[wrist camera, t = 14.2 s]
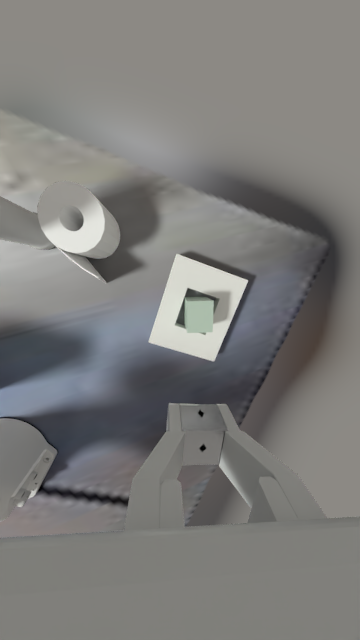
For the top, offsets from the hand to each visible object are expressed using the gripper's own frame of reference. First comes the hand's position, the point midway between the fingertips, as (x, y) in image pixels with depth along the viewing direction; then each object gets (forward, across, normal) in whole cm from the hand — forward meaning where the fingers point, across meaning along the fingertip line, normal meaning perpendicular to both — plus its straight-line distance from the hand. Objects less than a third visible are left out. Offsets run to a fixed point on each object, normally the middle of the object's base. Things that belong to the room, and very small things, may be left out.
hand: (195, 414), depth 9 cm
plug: (+24, -4, -2) cm, 24 cm away
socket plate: (+24, -4, -2) cm, 24 cm away
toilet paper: (+25, +14, -11) cm, 31 cm away
